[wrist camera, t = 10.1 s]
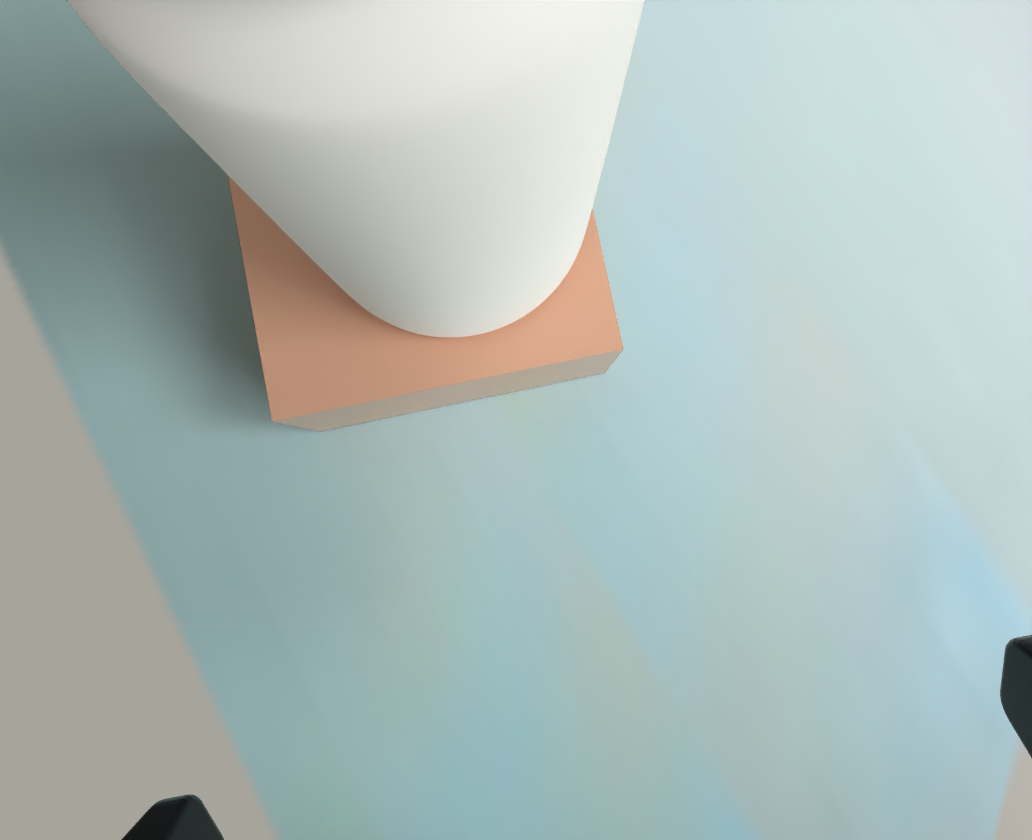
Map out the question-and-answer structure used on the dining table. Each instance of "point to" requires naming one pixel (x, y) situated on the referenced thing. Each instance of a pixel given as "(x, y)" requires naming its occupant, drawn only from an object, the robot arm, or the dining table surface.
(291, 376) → the peach block
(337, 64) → the can
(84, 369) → the dining table surface
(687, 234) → the dining table surface
